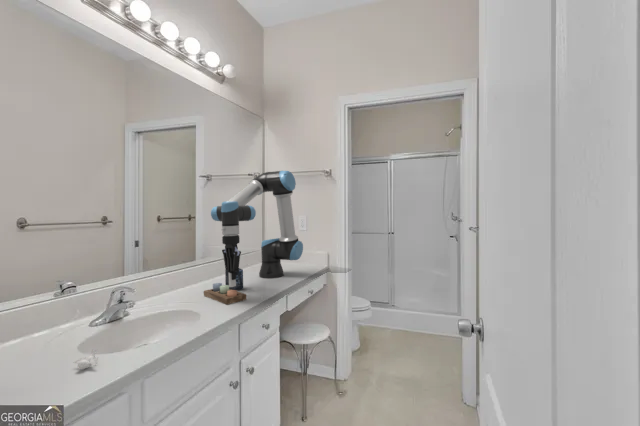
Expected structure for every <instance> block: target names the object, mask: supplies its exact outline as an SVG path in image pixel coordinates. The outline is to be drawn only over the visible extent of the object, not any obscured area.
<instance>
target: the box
mask: <svg viewBox="0 0 640 426" xmlns="http://www.w3.org/2000/svg"><path fill="white" fill-rule="evenodd" d="M224 271H225V273H224V274H225V278H224V280H225V281H224V282H225V284H224V285H229V273H228V271H227V270H226V269H224ZM229 289H231V290H237V291H241V290H244V270H243V268H241V267H239V271H237V272H236V286H235V287H229Z"/></svg>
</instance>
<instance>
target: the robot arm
mask: <svg viewBox="0 0 640 426" xmlns="http://www.w3.org/2000/svg"><path fill="white" fill-rule="evenodd" d="M296 185H297V184H296V178H295V176H294V174H293V173H292V172H291V171H290V170H275V171H266V172H263V173H261V174H259V175H257V176H256V177H254V178H253V179H251V180H250V181H248V185H246V186H245V187H244V188H243V189H242V190H240V191H239V192H237V193H236V194H235V195H233V196H232V197H231V198H229V199H228V200H227V201H222V202H221V205H218V206H213V207H212V208H211V211H210V216H211V219H212V220H213V221H215V222H221V231H222V235H223V236H222V237H221V238H222V239H221V241H222V242H221V243H222V245H225V246H224V248H223V249H222V250H221V251H222V256H223V261H224V267H225V269H224V270H227V271H228V273H229V287H235V286H236V272H237V271H239V268H240V260H241V254H242V251H241V250H238V244H240V235H239V234H240V222H249V221H253V220H254V219H255V217H256V214H257V211H256V209H255V207H254V206H253V205H247V204H249V203H250V202H251V201H252V200H253V199H254V198H256V197H257V196H260V195H262V194H263V193H267V192H272V195H273V197H274V198H275V200H276V207H277V214H278V215H277V216H278V223H279V224H278V225H279V230H280V237H277V238H270V239H263V240H262V241H261V245H260V246H261V247H260V248H261V265H260V269H259V272H258V275H259V276H258V277H260V278H263V279H274V278H281V277H284V270H283V267H282V263H281V260H285V261H297V260H299V259H300V258H301V257H302V254H303V252H304V244H303V242H302V241H301V240H299V236H297V234H296V229H295V221H294V215H293V207H292V206H293V204H292V197H291V196H292V195H293V192H294V190H295V189H296Z"/></svg>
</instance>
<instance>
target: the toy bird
mask: <svg viewBox="0 0 640 426" xmlns="http://www.w3.org/2000/svg"><path fill="white" fill-rule="evenodd" d="M97 352H99V350H98V349H97V350H96V349H92V350H91V354H90V355H89V356H87V357H86V356H85V357H81V358H78V359H77V360H75V361H74V362H72V363H73V364H75V365H77V367H78V369H79V370H84V369H85V368H86V369H88V368H89V367H90V366H98V365H99V360H98V358H99V357H95V356H96V354H97ZM86 369H85V370H86Z"/></svg>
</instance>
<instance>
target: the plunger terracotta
mask: <svg viewBox="0 0 640 426" xmlns="http://www.w3.org/2000/svg"><path fill="white" fill-rule="evenodd" d="M237 291H238V290H229V291H227V296H228V297H233V296H237Z"/></svg>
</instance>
